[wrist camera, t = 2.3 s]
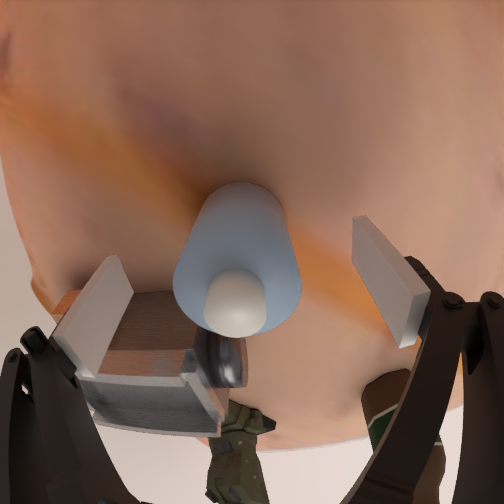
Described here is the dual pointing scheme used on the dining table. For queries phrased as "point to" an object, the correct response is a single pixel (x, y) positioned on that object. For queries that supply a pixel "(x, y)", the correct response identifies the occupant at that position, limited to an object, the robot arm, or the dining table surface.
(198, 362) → the open grey metal box
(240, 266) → the light blue bottle
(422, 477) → the beer bottle
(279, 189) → the dining table surface
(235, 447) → the mechanical leg
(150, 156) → the dining table surface
